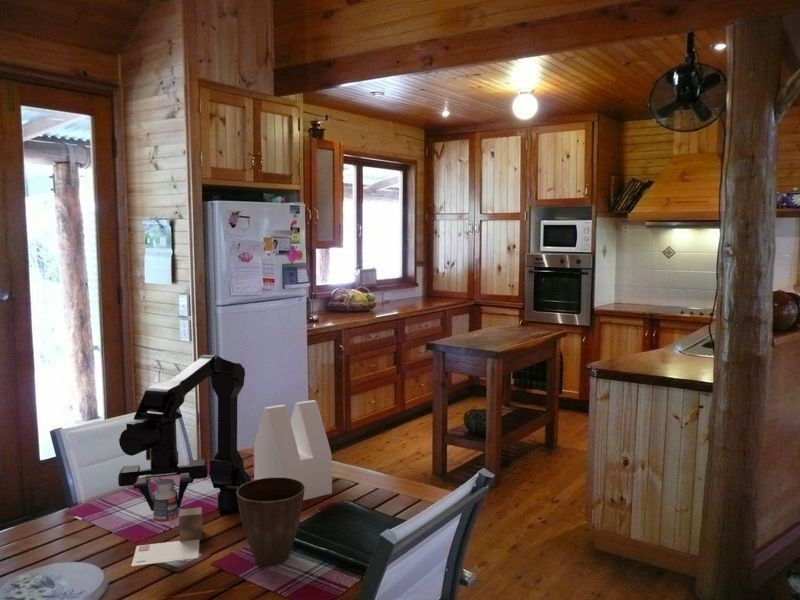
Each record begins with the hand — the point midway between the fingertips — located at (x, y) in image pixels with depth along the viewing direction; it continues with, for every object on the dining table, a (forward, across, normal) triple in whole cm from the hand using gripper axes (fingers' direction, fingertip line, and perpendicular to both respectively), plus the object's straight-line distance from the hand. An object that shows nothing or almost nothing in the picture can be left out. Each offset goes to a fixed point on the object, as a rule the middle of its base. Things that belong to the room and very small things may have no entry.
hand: (165, 508), depth 147 cm
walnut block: (+10, -5, -7) cm, 13 cm away
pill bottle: (+3, 0, 0) cm, 3 cm away
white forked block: (+11, -32, -32) cm, 46 cm away
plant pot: (+11, -23, +9) cm, 27 cm away
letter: (+10, 0, 0) cm, 10 cm away
